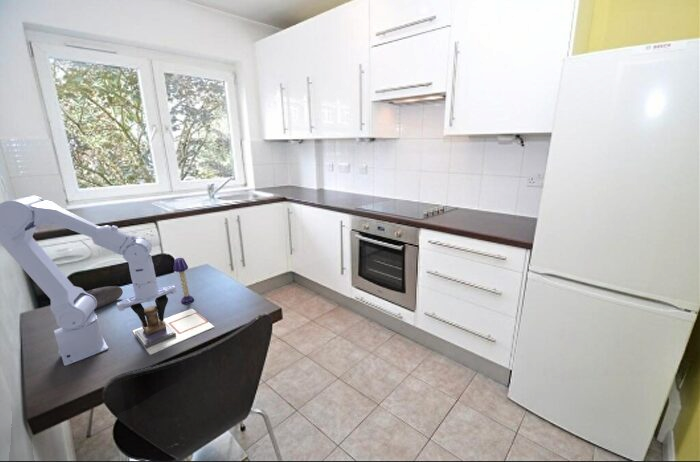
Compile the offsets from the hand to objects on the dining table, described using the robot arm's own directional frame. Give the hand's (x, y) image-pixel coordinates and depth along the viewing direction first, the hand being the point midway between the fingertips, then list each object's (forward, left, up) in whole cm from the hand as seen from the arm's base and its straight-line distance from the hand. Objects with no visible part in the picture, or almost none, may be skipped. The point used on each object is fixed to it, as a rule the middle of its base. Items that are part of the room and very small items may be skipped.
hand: (153, 322), depth 94 cm
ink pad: (0, 0, -5) cm, 5 cm away
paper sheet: (+5, 0, -5) cm, 7 cm away
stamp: (0, +1, -3) cm, 3 cm away
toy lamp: (+15, +16, -5) cm, 22 cm away
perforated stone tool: (-7, +36, -5) cm, 37 cm away
